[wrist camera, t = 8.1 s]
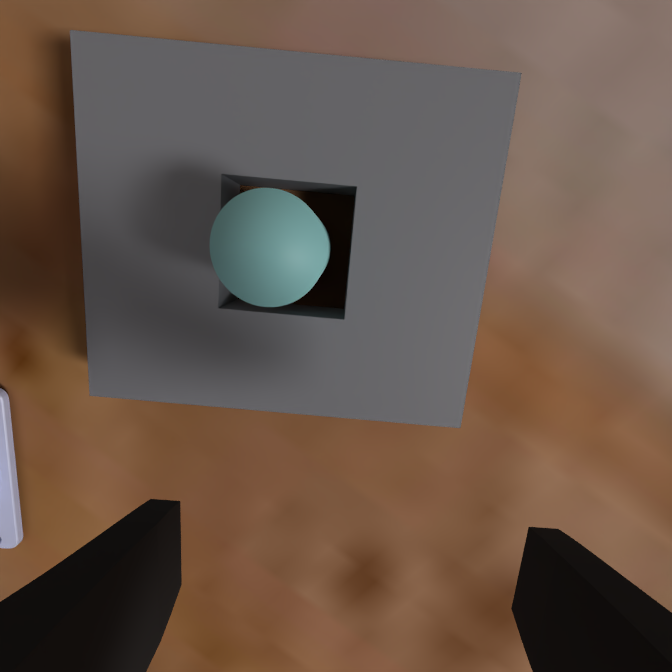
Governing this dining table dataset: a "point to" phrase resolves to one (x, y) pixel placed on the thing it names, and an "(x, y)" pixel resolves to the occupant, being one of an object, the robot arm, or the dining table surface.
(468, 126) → the peg block
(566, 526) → the dining table surface
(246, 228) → the peg
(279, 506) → the dining table surface
